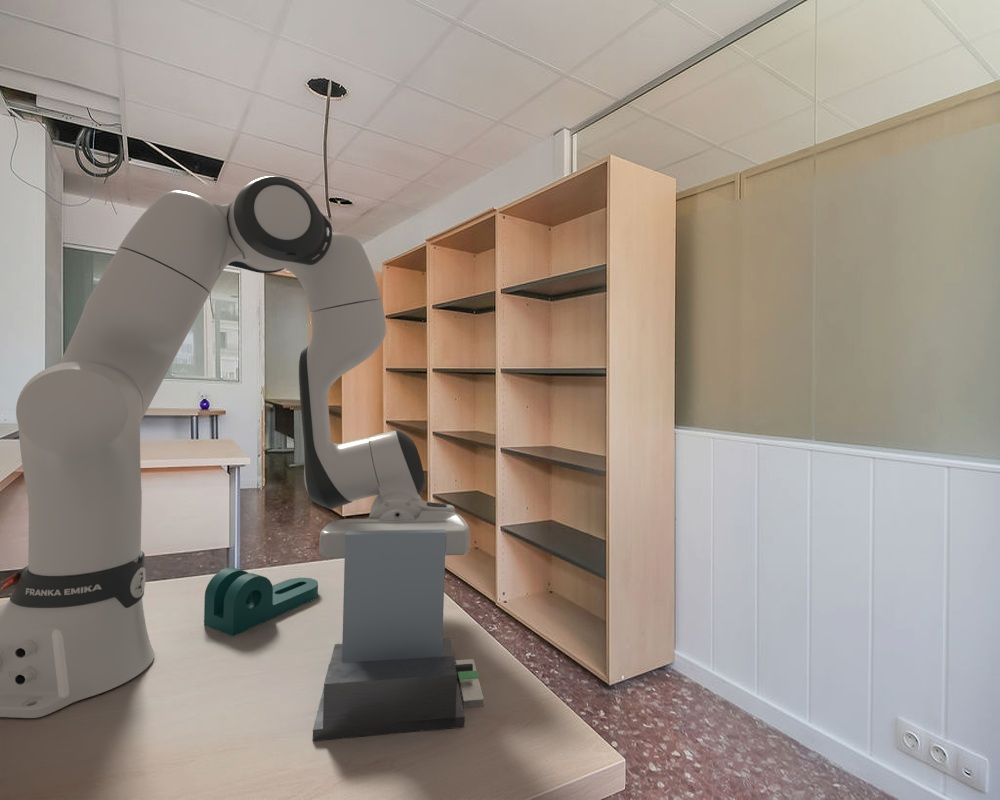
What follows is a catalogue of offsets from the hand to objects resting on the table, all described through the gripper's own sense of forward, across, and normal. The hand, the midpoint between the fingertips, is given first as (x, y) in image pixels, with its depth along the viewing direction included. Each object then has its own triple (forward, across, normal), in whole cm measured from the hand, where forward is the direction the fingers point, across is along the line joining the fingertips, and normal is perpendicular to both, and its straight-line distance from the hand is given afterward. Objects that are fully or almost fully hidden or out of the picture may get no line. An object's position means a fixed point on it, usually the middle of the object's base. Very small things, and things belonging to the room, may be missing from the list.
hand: (396, 556), depth 65 cm
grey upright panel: (+1, +2, +15) cm, 15 cm away
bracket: (-24, -20, +16) cm, 35 cm away
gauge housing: (+1, +1, +16) cm, 16 cm away
